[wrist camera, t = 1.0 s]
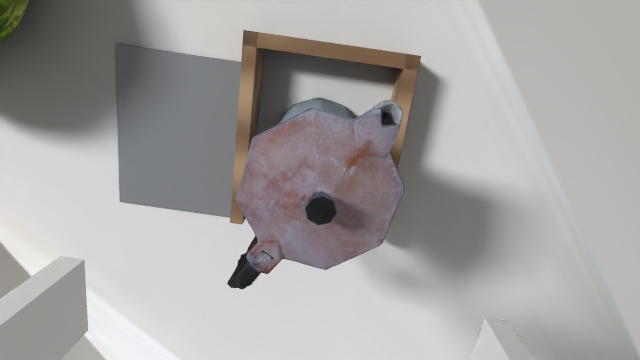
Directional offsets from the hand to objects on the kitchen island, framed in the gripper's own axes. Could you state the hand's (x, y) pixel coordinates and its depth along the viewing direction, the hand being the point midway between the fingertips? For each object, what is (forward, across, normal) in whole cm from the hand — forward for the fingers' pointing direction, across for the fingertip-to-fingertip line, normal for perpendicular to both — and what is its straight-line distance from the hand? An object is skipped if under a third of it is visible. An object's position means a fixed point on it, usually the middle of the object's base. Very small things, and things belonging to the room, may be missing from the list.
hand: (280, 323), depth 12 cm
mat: (+26, -14, -1) cm, 30 cm away
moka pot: (+27, 0, 0) cm, 27 cm away
